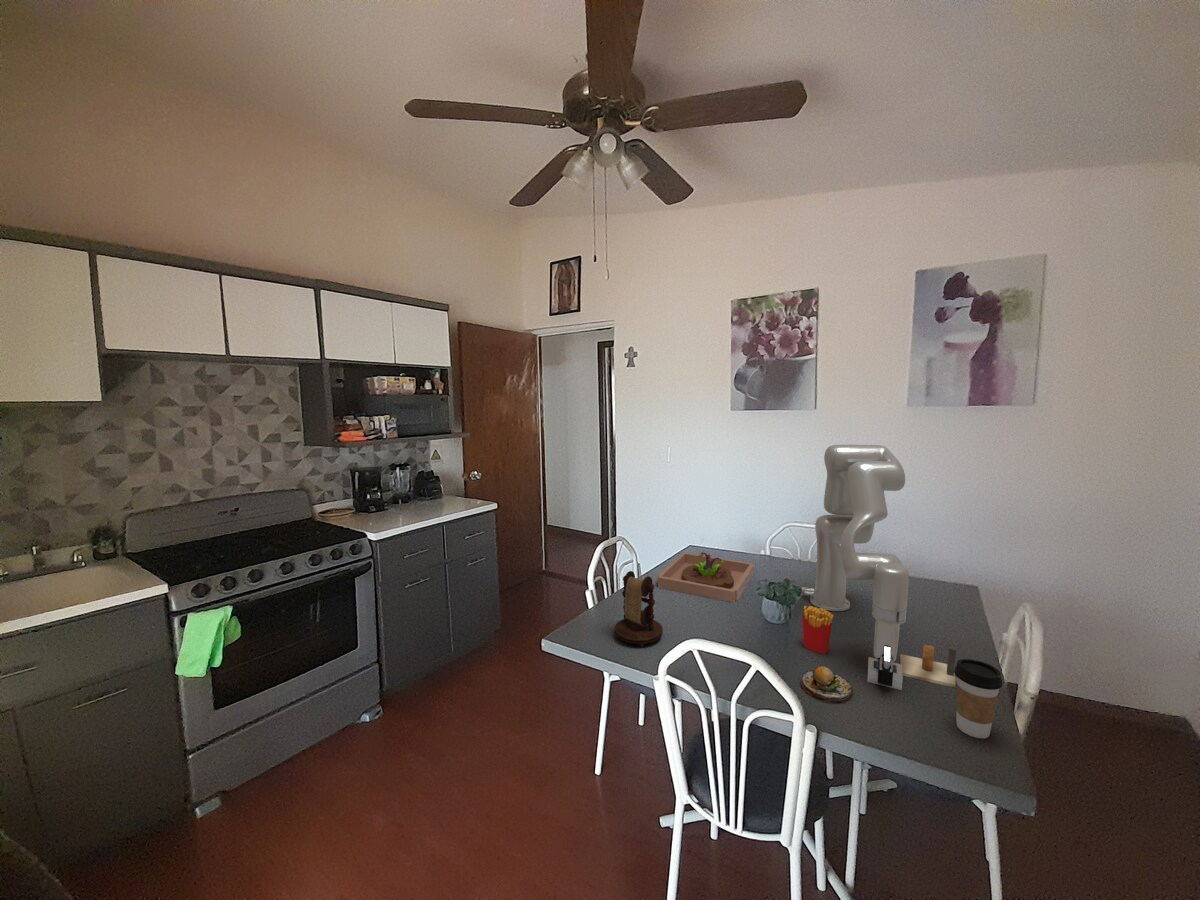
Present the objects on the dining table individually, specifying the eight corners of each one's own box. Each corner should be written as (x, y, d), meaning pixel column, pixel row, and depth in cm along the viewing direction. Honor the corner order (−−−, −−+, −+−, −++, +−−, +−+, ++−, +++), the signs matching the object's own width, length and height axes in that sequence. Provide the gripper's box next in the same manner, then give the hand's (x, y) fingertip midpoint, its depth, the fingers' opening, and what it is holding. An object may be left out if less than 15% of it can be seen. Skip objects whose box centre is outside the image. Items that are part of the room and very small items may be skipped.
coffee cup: (940, 717, 114) (945, 657, 112) (974, 715, 115) (980, 654, 112) (970, 744, 106) (976, 679, 103) (1007, 741, 106) (1014, 676, 104)
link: (867, 681, 128) (868, 669, 127) (867, 669, 133) (868, 657, 133) (901, 690, 124) (902, 677, 124) (900, 676, 130) (901, 664, 129)
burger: (862, 700, 121) (864, 672, 120) (820, 708, 118) (821, 679, 117) (830, 672, 133) (831, 646, 131) (790, 678, 130) (792, 652, 129)
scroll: (604, 637, 152) (603, 575, 149) (633, 619, 163) (633, 561, 160) (643, 654, 142) (643, 588, 140) (671, 634, 153) (672, 572, 151)
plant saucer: (656, 588, 188) (656, 576, 188) (683, 562, 214) (683, 552, 214) (735, 604, 174) (736, 592, 173) (754, 574, 200) (754, 563, 199)
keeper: (901, 675, 130) (903, 647, 129) (900, 656, 139) (901, 629, 138) (957, 688, 124) (959, 658, 123) (952, 667, 133) (954, 640, 132)
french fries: (799, 645, 146) (800, 606, 144) (805, 640, 148) (807, 602, 147) (828, 656, 139) (830, 616, 138) (834, 651, 142) (836, 612, 140)
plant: (680, 569, 205) (681, 543, 203) (729, 570, 202) (729, 544, 201) (682, 589, 185) (682, 560, 184) (735, 591, 183) (736, 562, 181)
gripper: (872, 595, 135) (868, 654, 138) (871, 623, 120) (867, 689, 123) (904, 601, 132) (900, 661, 134) (907, 630, 117) (902, 698, 119)
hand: (884, 674), depth 129 cm, fingers open, 8 cm apart
